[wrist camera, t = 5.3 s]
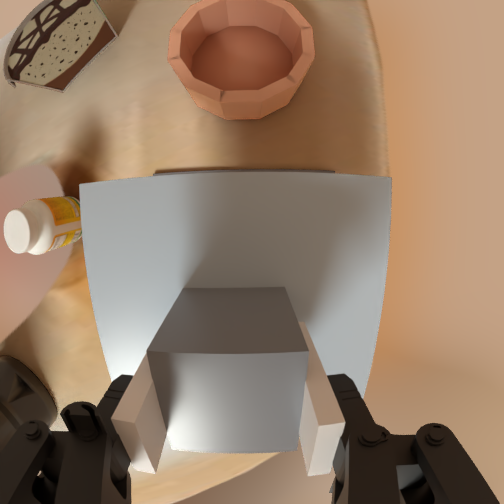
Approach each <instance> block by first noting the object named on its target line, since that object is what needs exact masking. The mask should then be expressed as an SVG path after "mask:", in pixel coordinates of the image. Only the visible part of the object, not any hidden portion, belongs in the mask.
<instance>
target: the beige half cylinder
mask: <svg viewBox="0 0 504 504" xmlns="http://www.w3.org/2000/svg"><path fill="white" fill-rule="evenodd" d="M117 37H118V35H117V33H116V32H115V30H114V29H113V27H112V25H111V24H110V22H109V21H108V19H107V17H106V16H105V14H104V13H103V11H102V10H101V8H100V6H99V5H98V3H97V2H96V0H44V1H43V2H41V3H40V4H39V5H38V6H37V7H35V8H34V9H33V11H32V12H30V13H29V15H27V17H26V18H25V19H24V20H23V22H22V23H21V24H20V26H19V27H18V28H17V30H16V32H15V33H14V35H13V37H12V39H11V41H10V43H9V45H8V48H7V51H6V54H5V58H4V76H5V78H6V80H7V81H8V83H9V84H10V85H12V86H13V87H14V88H15V87H16V85H15V83H14V82H17V83H22V84H27V85H32V86H37V87H41V88H46V89H50V90H54V91H58V92H62V93H63V92H64V91H65V90H66V89H67V88H68V87H69V85H70V84H71V83H72V82H73V81H74V80H75V79H76V78H77V76H78V75H79V74H80V73H81V72H82V71H83V70H84V69H85V68H86V67H87V66H88V65H89V64H90V63H91V62H92V61H93V60H94V59H95V58H96V57H97V56H98V55H99V54H100V53H101V52H102V51H103V50H104V49H105V48H106V47H107V46H108V45H109V44H110V43H112V42H113V41H114V40H115V39H116V38H117Z"/></svg>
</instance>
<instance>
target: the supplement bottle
mask: <svg viewBox="0 0 504 504" xmlns="http://www.w3.org/2000/svg"><path fill="white" fill-rule="evenodd" d="M81 236H82V226H81V212H80V202H79V201H78V200H77V199H76V198H74V197H70V196H64V197H53V198H43V199H34V200H30V201H28V202H26V203H25V204H24V205H23V206H22V207H21V208H18V209H14V210H12V211H10V212H9V213H8V215H7V216H6V218H5V221H4V237H5V240H6V242H7V245H8V247H9V248H10V249H11V250H12V251H13V252H15V253H17V254H20V253H24V252H29V253H31V254H34V255H39V254H43V253H46V252H48V251H51V250H54V249H56V248H59V247H62V246H65V245H68V244H71V243H73V242H75V241H77V240H78V239H80V237H81Z"/></svg>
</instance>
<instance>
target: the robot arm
mask: <svg viewBox="0 0 504 504" xmlns="http://www.w3.org/2000/svg"><path fill="white" fill-rule="evenodd" d="M298 323H299V325H300V328H301V331H302V333H303V336H304V339H305V341H306V344H307V347H308V349H309V359H308V369H307V378H306V381H305V390H304V398H303V406H302V414H301V422H300V429H299V437H300V441H301V446H302V451H303V456H304V461H305V466H306V471H307V476H314V475H321V474H328V473H330V472H331V469H332V466H333V467H334V471H335V474H336V476H335V479H334V481H333V484H332V486H331V489H330V492H329V493H332V504H500V503H499V501H498V500H497V498H496V497H495V495H494V493H493V492H492V490H491V489H490V487H489V486H488V484H487V482H486V481H485V479H484V478H483V476H482V475H481V473H480V472H479V471H478V469H477V467H476V466H475V464H474V463H473V461H472V460H471V458H470V457H469V455H468V454H467V452H466V451H465V450H464V448H463V447H462V445H461V444H460V443H459V441H458V440H457V438H456V437H455V435H454V434H453V432H452V431H451V430H450V429H449V428H448V427H446V426H444V425H442V424H438V423H430V424H426V425H424V426H422V427H421V428H420V429H419V430H418V431H417V433H416V435H393V434H390V432H389V431H388V430H387V429H385V428H384V427H382V426H380V425H377V424H375V422H374V420H373V418H372V416H371V414H370V412H369V410H368V408H367V406H366V404H365V402H364V400H363V398H361V395H360V393H359V391H358V389H357V387H356V385H355V383H354V381H353V380H352V379H351V378H349V377H348V376H347V375H346V374H344V373H343V374H335V375H326V373H325V370H324V368H323V365H322V363H321V360H320V358H319V356H318V353H317V351H316V348H315V346H314V344H313V341H312V339H311V336H310V334H309V332H308V329H307V327H306V325H305V322H298ZM60 415H61V417H62V419H63V421H64V422H65V424H66V426H67V428H68V430H69V431H50V429H49V428H50V427H51V426H52V424H53V423H54V422H55V420H56V418H57V410H56V407H55V404H54V402H53V400H52V398H51V396H50V394H49V393H48V391H47V390H46V388H45V387H44V385H43V384H42V383H41V382H40V380H39V379H38V378H37V377H36V376H35V375H34V374H33V373H32V372H31V371H30V370H29V369H28V368H27V367H26V366H25V365H23V364H22V363H21V362H19V361H18V360H16V359H14V358H12V357H10V356H1V357H0V504H131V477H130V474H129V472H128V467H129V465H130V462H131V463H132V465H133V467H134V469H135V470H137V471H142V472H148V473H154V474H156V471H157V467H158V464H159V460H160V456H161V453H162V449H163V445H164V442H165V438H166V435H167V430H166V427H165V424H164V420H163V417H162V413H161V409H160V406H159V402H158V398H157V394H156V390H155V386H154V382H153V380H152V376H151V372H150V367H149V362H148V358H147V353H146V354H145V356H144V358H143V360H142V361H141V363H140V365H139V367H138V369H137V371H136V372H135V374H134V376H133V375H125V374H121V375H120V376H119V377H117V378H116V379H115V380H113V381H112V383H111V385H110V386H109V388H108V391H106V393H105V394H104V397H103V398H102V399H101V401H100V403H99V404H98V406H97V407H96V406H95V405H93V404H91V403H89V402H83V401H82V402H74V403H72V404H69V405H67V406H66V407H65V408H64V409H63V410H62V411H61V413H60ZM40 470H41V474H40V475H39V476H37V475H38V473H39V471H40Z"/></svg>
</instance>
